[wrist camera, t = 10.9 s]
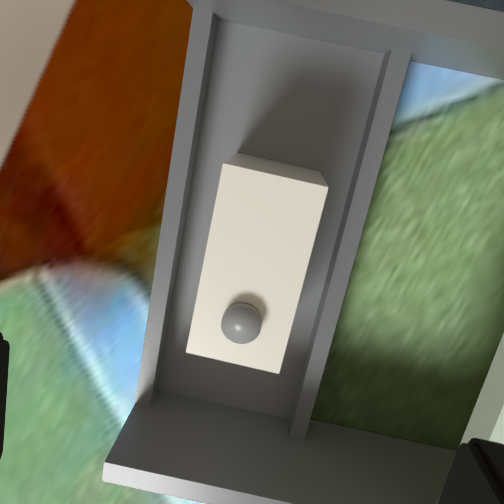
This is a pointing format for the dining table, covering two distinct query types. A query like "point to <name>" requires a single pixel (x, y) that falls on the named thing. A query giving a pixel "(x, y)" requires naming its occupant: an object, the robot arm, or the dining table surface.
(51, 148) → the dining table surface
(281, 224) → the white block with knob
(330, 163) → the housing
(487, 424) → the lid
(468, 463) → the robot arm
